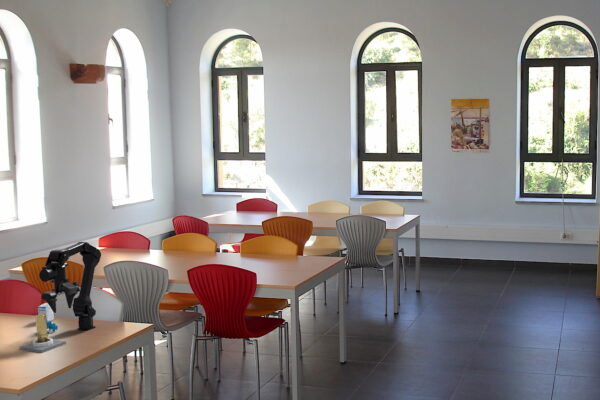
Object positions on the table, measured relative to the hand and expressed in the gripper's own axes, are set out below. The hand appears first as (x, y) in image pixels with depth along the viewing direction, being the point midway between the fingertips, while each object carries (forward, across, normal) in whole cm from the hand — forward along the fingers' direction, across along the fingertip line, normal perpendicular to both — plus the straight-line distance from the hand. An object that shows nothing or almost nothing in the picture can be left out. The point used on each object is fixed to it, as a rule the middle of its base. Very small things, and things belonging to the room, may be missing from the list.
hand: (62, 310), depth 358 cm
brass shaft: (+12, -14, -1) cm, 18 cm away
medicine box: (+13, +20, +33) cm, 41 cm away
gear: (+13, +5, +16) cm, 21 cm away
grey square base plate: (+13, -14, -1) cm, 19 cm away
